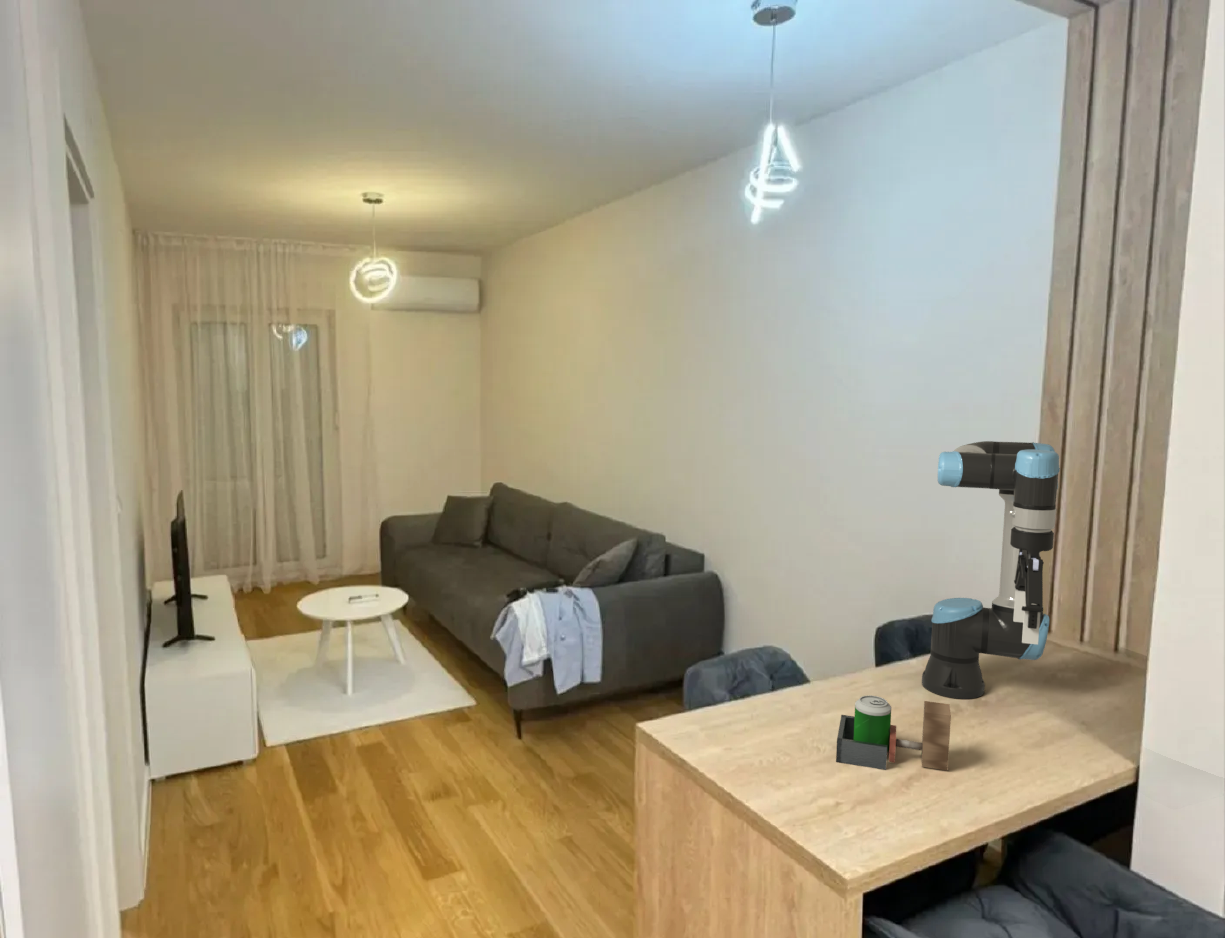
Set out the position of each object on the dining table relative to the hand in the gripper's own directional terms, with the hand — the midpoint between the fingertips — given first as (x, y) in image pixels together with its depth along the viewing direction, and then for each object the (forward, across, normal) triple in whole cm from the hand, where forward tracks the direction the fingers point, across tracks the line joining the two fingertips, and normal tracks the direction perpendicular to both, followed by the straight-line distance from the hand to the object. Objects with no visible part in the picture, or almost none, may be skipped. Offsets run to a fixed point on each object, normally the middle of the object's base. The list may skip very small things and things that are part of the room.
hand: (1025, 632), depth 163 cm
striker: (+30, 0, -19) cm, 36 cm away
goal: (+31, 0, -30) cm, 43 cm away
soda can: (+31, 0, -28) cm, 42 cm away
